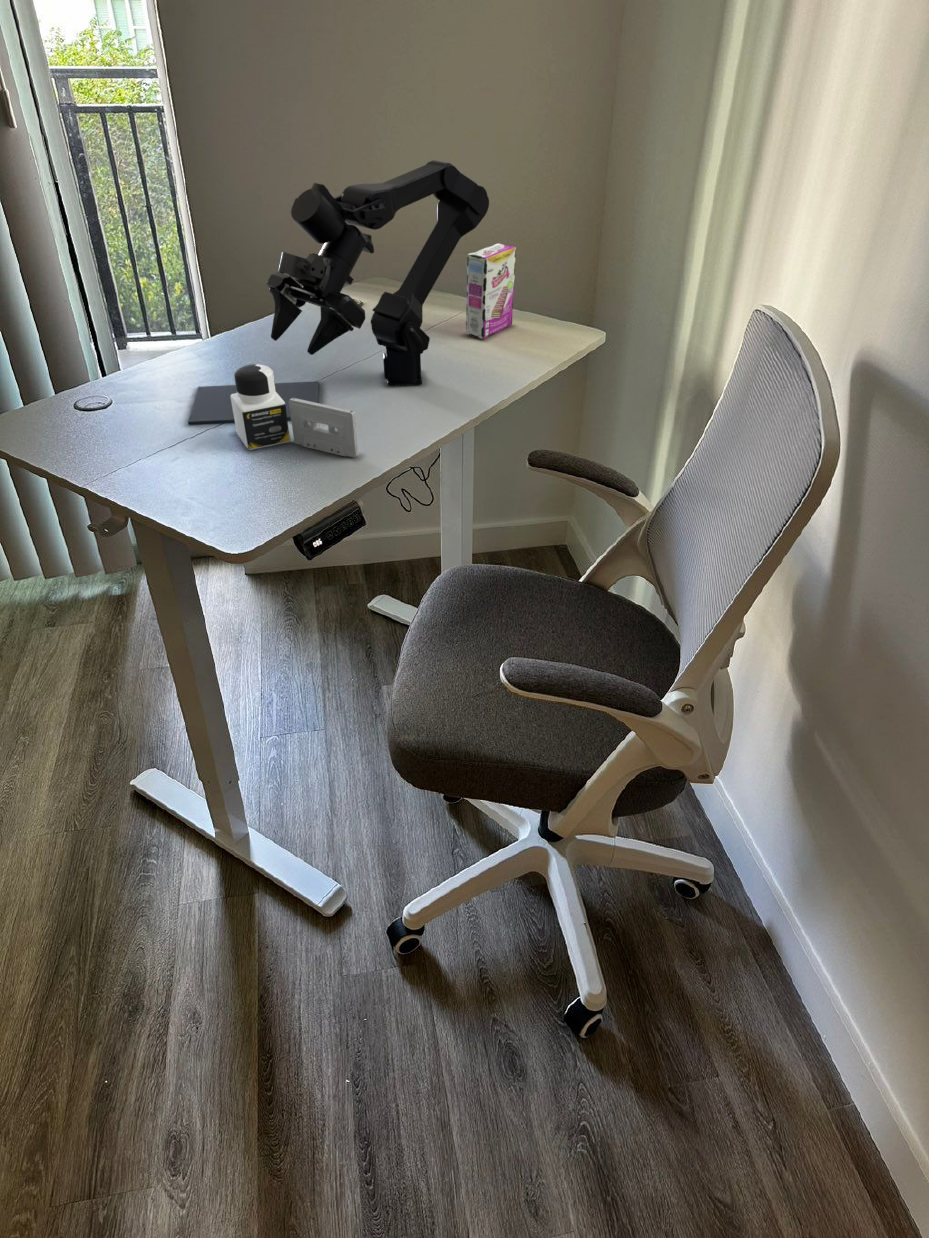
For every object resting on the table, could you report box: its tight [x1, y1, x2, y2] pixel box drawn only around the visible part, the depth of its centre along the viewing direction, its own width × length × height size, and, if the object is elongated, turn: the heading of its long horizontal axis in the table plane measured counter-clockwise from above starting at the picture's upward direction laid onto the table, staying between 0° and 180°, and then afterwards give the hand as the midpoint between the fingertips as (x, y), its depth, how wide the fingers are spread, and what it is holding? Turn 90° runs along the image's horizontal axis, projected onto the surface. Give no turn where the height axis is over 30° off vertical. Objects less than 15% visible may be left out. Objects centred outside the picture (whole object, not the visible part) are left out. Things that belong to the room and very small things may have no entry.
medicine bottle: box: [231, 363, 291, 451], centre depth 139 cm, size 7×7×12 cm
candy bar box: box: [465, 243, 517, 340], centre depth 178 cm, size 11×5×16 cm, turn 144°
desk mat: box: [187, 380, 320, 426], centre depth 153 cm, size 22×15×1 cm
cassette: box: [289, 398, 359, 459], centre depth 137 cm, size 12×2×8 cm, turn 64°
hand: (291, 346), depth 139 cm, fingers open, 9 cm apart
